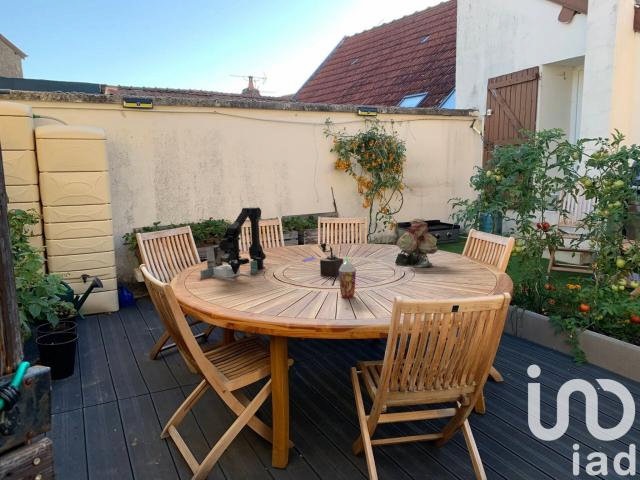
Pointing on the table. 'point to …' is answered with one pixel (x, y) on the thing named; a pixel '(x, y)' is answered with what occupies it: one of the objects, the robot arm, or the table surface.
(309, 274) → the table surface
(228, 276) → the socket block
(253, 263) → the dowel
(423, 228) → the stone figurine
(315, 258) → the booklet
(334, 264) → the black box with stems
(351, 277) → the smoothie
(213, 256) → the coffee box
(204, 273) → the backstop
